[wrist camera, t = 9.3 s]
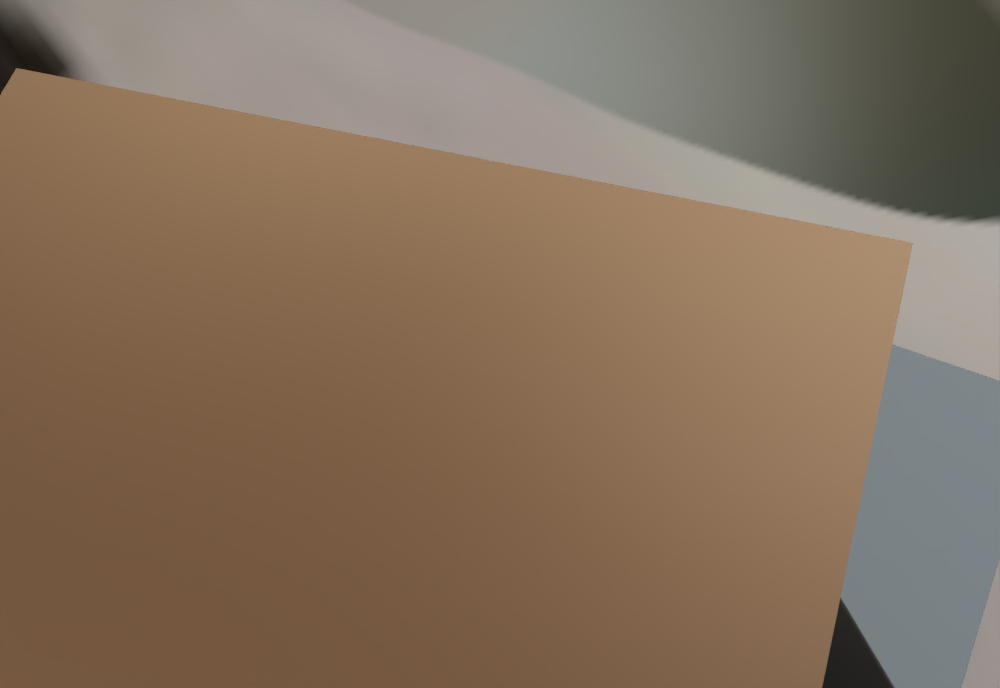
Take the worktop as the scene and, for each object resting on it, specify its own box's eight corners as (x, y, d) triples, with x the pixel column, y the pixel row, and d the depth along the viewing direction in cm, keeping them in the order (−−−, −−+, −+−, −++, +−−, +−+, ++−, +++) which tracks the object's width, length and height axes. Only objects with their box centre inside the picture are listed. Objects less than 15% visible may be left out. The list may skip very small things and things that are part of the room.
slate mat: (755, 1334, 12) (759, 1369, 11) (97, 834, 16) (77, 841, 16) (1033, 404, 15) (1047, 396, 15) (437, 201, 20) (431, 189, 19)
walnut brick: (641, 814, 14) (549, 2032, 2) (395, 709, 15) (-560, 1019, 3) (709, 544, 15) (911, 244, 3) (478, 470, 17) (16, 68, 5)
